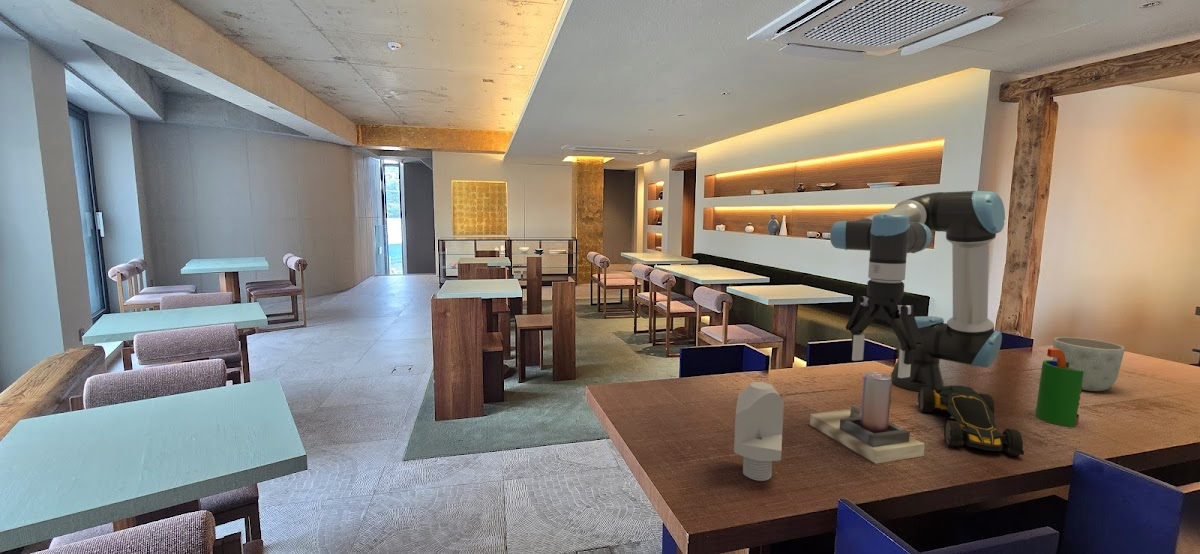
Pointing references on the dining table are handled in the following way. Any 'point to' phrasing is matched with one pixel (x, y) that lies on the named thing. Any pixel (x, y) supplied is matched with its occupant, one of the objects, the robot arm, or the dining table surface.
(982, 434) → the toy car
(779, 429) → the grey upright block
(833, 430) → the board
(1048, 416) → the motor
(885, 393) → the beverage can
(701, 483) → the dining table surface
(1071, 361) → the planter
